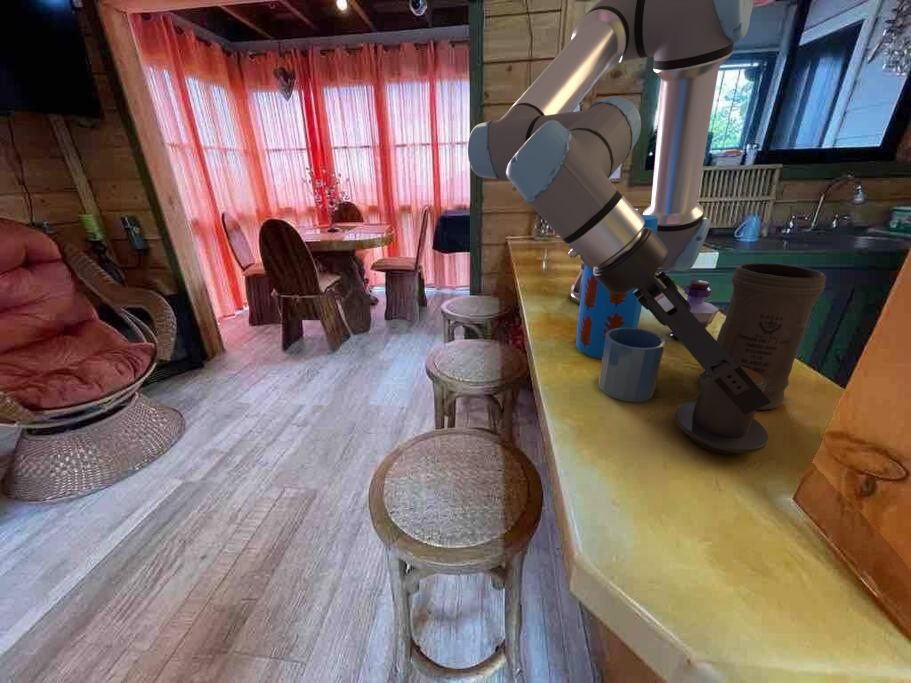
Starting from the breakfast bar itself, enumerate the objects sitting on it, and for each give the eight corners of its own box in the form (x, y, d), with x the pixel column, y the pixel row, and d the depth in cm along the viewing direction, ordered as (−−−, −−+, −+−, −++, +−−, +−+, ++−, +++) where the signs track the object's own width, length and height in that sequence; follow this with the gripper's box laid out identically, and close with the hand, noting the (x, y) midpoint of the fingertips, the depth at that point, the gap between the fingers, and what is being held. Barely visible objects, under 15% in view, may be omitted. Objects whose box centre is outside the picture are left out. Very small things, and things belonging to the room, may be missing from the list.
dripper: (679, 408, 56) (695, 348, 51) (763, 434, 50) (789, 369, 46) (663, 443, 49) (680, 378, 44) (759, 478, 43) (789, 407, 39)
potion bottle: (708, 333, 80) (724, 278, 75) (711, 349, 73) (728, 289, 68) (663, 326, 84) (675, 274, 79) (661, 341, 77) (674, 284, 72)
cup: (608, 370, 66) (616, 323, 62) (658, 385, 61) (670, 335, 58) (591, 390, 60) (598, 340, 57) (645, 408, 56) (657, 354, 52)
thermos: (638, 362, 69) (667, 220, 58) (577, 357, 71) (595, 220, 60) (626, 338, 78) (649, 213, 68) (573, 335, 81) (587, 213, 70)
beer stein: (797, 419, 52) (851, 277, 45) (708, 405, 56) (746, 271, 49) (757, 374, 66) (794, 259, 59) (687, 365, 69) (715, 256, 62)
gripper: (582, 249, 55) (672, 349, 58) (601, 304, 33) (744, 459, 36) (627, 212, 52) (720, 319, 55) (681, 245, 30) (831, 421, 33)
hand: (729, 375), depth 46 cm, fingers open, 13 cm apart
